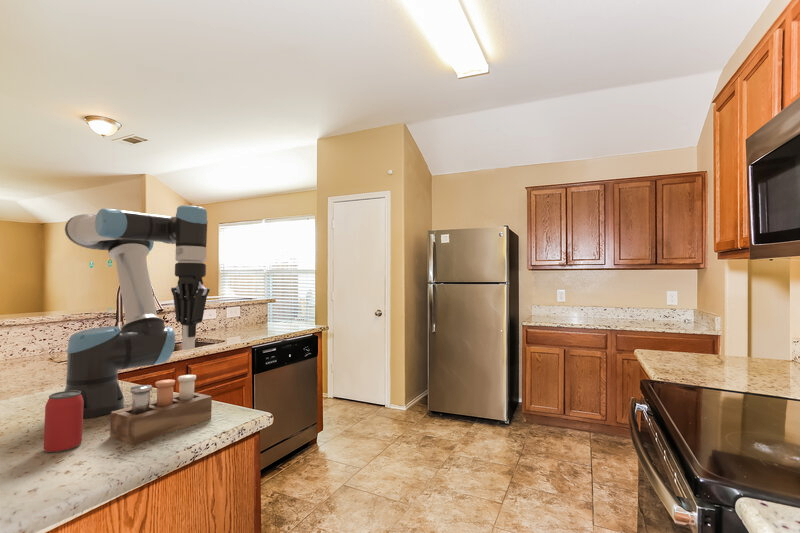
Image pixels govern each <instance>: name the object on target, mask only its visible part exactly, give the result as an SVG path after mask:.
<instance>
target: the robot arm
mask: <svg viewBox="0 0 800 533" xmlns="http://www.w3.org/2000/svg"><path fill="white" fill-rule="evenodd" d="M208 222H209V220H208V210H207V209H206V208H204V207H203V206H197V205H188V204H187V205H185V204H184V205H179V206H178V207H177V208H176V213H175V216H170V215H163V214H155V213H153V214H152V213H146V212H145V213H144V212H137V211H130V210H123V209H118V208H100V209H99V210H98V212H97V213H96V214H79V215H75V216H73V217H70V219H68V220H67V221H66V223H65V225H64V226H65V227H64V232H65V233H64V234H65V235H66V237H67V238H68V240H69V241H70V242H72V243H74V244H76V246H80V247H81V248H85V249H90V250H98V251H101V250H102V251H108V256H109V258H110V259H111V260H113V261H115V266H116V271H117V276H118V278H117V279H118V283H119V288H120V294H121V299H122V300H121V301H122V305H123V312H124V319H125V323H124V324H122V326H121V329H120V327H119V326H115V325H114V326H113V325H112V326H101V327H94V328H88V329H84V330H80V331H77V332H75V333H73V334H71V335H70V336H69V338H68V342H67V349H66V353H67V357H66V358H67V359H66V380H65V381H66V384H65V388H64V391H71V390H78V391H81V395H82V397H83V401H84V403H83V420H84V419H89V418H95V417H100V416H104V415H108V414H111V412H113V411H116V410H120V409H123V407H125V406H124V405H125V398H124V394H123V391H122V389H121V386H120V383H119V381H118V380H119V379H118V378H119V376H118V374H119V371H120V370H127V369H134V368H139V367H141V368H142V367H147V366H155V365H158V364H159V365H160V364H163V363H166V362H167V361H169V360H170V358H171V357H172V355H173V353H174V350H175V346H176V345H175V344H176V333H175V330H174V328H173V327H171V326H168V325H166V324H165V320H164V319H163V318H162V317H159V316H158V312H157V309H156V308H157V307H156V302H155V298H154V293H153V289H152V283H151V279H150V278H151V277H150V273H149V269H148V264H147V259H146V257H147V256H148V255H149V254H150V252H151V251H152V249H153V247H154V245H155V243H154V242H159V243H164V244H168V245H169V244H170V245H171V244H172V245H174V244H175V261H176V263H174V276H175V277H177V278H178V281H177V285H176V286H174V287H171V289H170V291H171V294H172V296H173V297H172V298H173V304H174V305H173V306H174V312H175V322H177V323H180V325H181V336H182V338H181V340H182V341H181V350H183V351H184V350H185V351H187V350H193V349H195V347H196V336H197V325H198V324H200V323H202V322H203V319H204V314H205V308H206V302H207V298H208V296H209V293H210V287H205V286H204V282H203V278H204V277H206V276H207V272H206V271H207V265H206V264H205V262H206V261H207V251H208V250H207V243H208V242H207V241H208V239H207V238H208V237H207V236H208Z"/></svg>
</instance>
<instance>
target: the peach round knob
mask: <svg viewBox="0 0 800 533" xmlns="http://www.w3.org/2000/svg"><path fill="white" fill-rule="evenodd" d="M154 383H155V387H156V400H157V406H156V407H160V408H162V407H166V406H169V405H173V395H174V386H175V385H176V380H175V379H162V380H157V381H156V382H154Z"/></svg>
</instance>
